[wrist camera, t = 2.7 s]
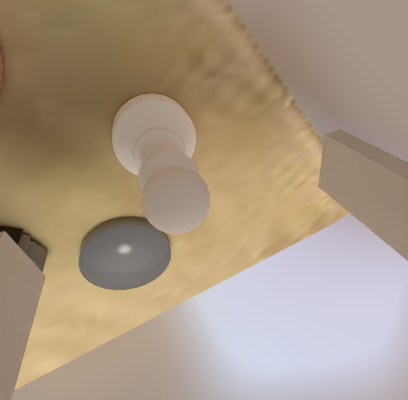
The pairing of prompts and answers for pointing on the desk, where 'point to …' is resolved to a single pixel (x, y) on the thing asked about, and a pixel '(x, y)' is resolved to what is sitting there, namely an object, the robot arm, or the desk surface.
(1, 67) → the pink disc
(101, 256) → the dish slate
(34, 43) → the desk surface
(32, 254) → the handgun
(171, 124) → the chess pawn
